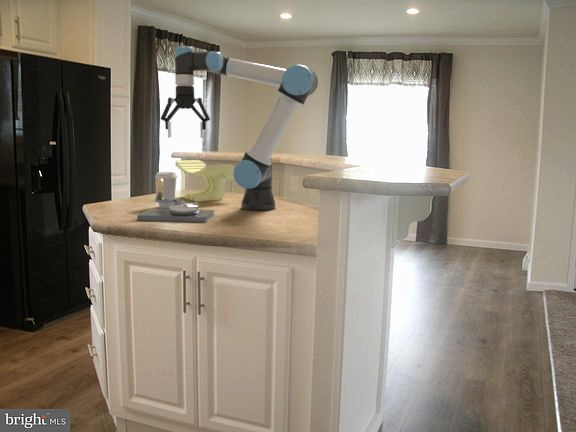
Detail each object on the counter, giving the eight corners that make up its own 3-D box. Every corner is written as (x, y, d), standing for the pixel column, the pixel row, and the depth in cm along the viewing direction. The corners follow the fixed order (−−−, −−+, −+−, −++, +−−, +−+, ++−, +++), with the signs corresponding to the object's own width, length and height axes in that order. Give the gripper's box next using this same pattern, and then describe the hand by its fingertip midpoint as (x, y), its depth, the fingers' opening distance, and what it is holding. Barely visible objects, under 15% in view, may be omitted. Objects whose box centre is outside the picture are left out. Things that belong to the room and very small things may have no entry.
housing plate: (213, 214, 222) (213, 209, 221) (205, 222, 205) (205, 216, 205) (150, 213, 223) (150, 208, 223) (137, 220, 206) (137, 214, 206)
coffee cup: (172, 209, 234) (171, 174, 232) (151, 208, 236) (150, 173, 233) (181, 206, 243) (180, 172, 241) (161, 205, 245) (160, 171, 243)
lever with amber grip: (204, 212, 215) (204, 181, 213) (185, 215, 206) (185, 183, 204) (166, 207, 225) (166, 177, 223) (147, 210, 215) (146, 180, 213)
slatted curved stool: (235, 201, 262) (235, 163, 259) (206, 203, 252) (206, 164, 249) (203, 194, 285) (203, 159, 282) (176, 196, 275) (175, 160, 272)
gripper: (216, 86, 229) (216, 137, 233) (157, 86, 230) (158, 137, 234) (213, 85, 222) (214, 138, 226) (152, 84, 223) (154, 137, 226)
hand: (185, 137), depth 230 cm, fingers open, 13 cm apart
